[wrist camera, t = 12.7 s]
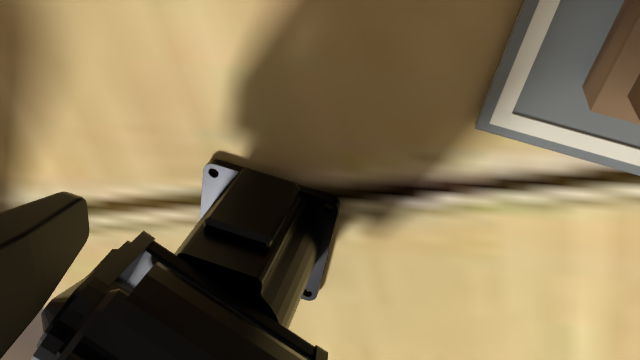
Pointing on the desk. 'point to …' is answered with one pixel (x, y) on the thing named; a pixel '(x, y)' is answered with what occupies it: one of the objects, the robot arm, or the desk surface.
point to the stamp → (618, 68)
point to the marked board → (558, 85)
